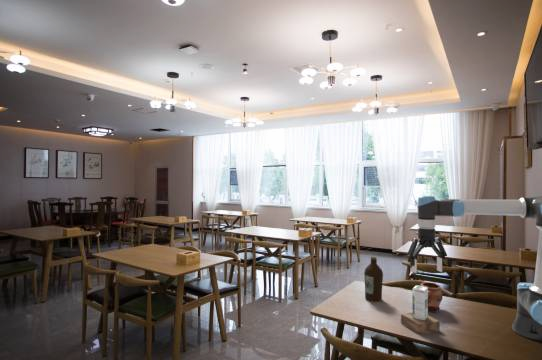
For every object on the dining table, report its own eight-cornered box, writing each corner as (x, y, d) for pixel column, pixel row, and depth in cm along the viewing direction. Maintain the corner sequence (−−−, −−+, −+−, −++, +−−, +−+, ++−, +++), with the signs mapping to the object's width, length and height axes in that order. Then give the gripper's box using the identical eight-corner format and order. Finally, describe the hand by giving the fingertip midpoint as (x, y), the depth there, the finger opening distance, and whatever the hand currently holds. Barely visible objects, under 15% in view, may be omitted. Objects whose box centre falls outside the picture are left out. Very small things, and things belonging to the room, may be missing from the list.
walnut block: (420, 321, 164) (420, 311, 164) (439, 331, 153) (439, 321, 153) (400, 324, 160) (401, 314, 160) (419, 335, 149) (419, 324, 149)
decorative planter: (440, 319, 165) (440, 292, 165) (414, 313, 172) (415, 287, 172) (443, 306, 182) (444, 282, 182) (420, 302, 189) (420, 278, 189)
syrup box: (415, 314, 160) (414, 284, 160) (428, 317, 157) (427, 287, 157) (412, 318, 156) (411, 287, 156) (425, 321, 152) (424, 290, 152)
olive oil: (373, 294, 200) (373, 254, 200) (386, 300, 191) (387, 258, 191) (360, 297, 195) (360, 256, 195) (373, 303, 186) (373, 260, 186)
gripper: (444, 226, 162) (444, 268, 162) (398, 227, 158) (399, 271, 158) (455, 228, 155) (455, 272, 155) (407, 229, 151) (408, 275, 150)
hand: (427, 271), depth 156 cm, fingers open, 13 cm apart
